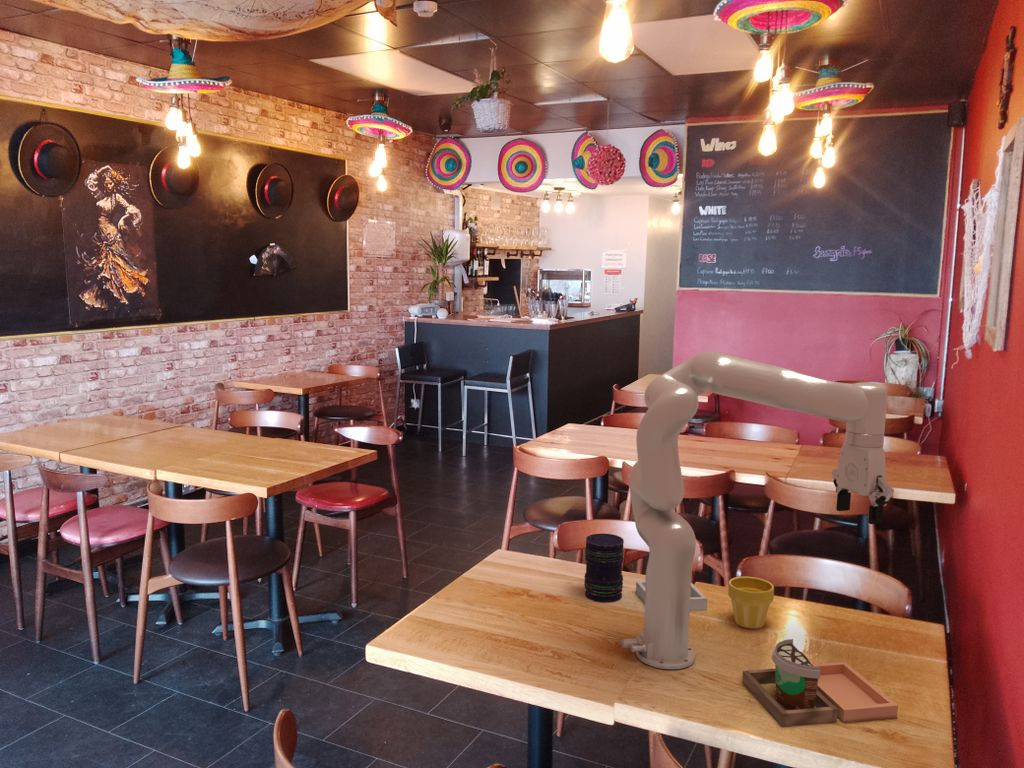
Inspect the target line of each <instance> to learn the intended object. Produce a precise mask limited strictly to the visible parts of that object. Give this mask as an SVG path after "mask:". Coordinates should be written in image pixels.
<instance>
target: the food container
mask: <svg viewBox="0 0 1024 768" xmlns="http://www.w3.org/2000/svg"><path fill="white" fill-rule="evenodd" d="M771 660H772V662H773V664H774V666H775V667H774V668H775V677H776V683H775V698H776V699H775V700H776V702H777V703H778V704H779V705H780V706H781V707H783V708H786V709H787V710H798V709H809V708H816V706H815V701H816V693H817V685H818V678H820V670H819V669H820V667H817V666H813V665H812V664H813V663H812V662H811V661H810V660H809V659H808V657H807V656H806V654H804V653H803V652H801V651H800V650H799V649H798V648H797V647H796V646H795V645H794V638H790V639H789V638H788V639H783V640H781V641H779V642H777V643H776V645H775V647H774V648H773V651H772V654H771Z"/></svg>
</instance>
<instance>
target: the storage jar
mask: <svg viewBox="0 0 1024 768" xmlns="http://www.w3.org/2000/svg"><path fill="white" fill-rule="evenodd" d="M624 541H625V540H624V538H623V537H622V536H619V535H617V534H611V533H593V534H590V535H587V536H586V538H585V548H584V549H585V550H584V553H585V555H584V558H585V562H586V563H585V565H586V566H585V573H584V584H583V585H584V596H585V597H586V599H588V600H590V601H592V602H596V603H601V604H602V603H604V604H605V603H606V604H608V603H615V602H618V601H620V600H622V598H623V593H622V592H623V588H624V581H623V580H624V575H623V563H624V556H625V555H624V553H625V551H624V550H625V549H624V543H625V542H624Z"/></svg>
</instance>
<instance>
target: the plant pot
mask: <svg viewBox="0 0 1024 768" xmlns="http://www.w3.org/2000/svg"><path fill="white" fill-rule="evenodd" d="M727 590H728V592H727V594H728V598H729V599H731V605H732V610H733V611H732V613H733V617H734V621H735V623H736V624H737V626H740V627H742V628H746V629H749V630H751V629H752V630H753V629H754V630H757V629H761V628H763V627H764V626H765V623H766V620H767V619H766V618H767V615H768V611H769V609H770V604H772V603H773V601H774V597H775V596H774V595H775V586H774V585H773V583H771V582H770V581H768V580H766V579H763V578H760V577H754V576H736V577H733V578H731V579H729V581H728V588H727Z"/></svg>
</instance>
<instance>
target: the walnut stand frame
mask: <svg viewBox="0 0 1024 768" xmlns="http://www.w3.org/2000/svg"><path fill="white" fill-rule="evenodd" d="M741 683H742V685H744V687H745V688H746V689H747V690H748V691H749V692H750V693H751V695H753V697H755V699H756V700H757V701H758V702H759V703H760V704H761V705H762V706H763V708H764V709H766V711H767V713H769V714H770V715H771V716H772V718H773V719H774V720H775V721H776V722H777V723H778V724H779V725H780V726H781V728H782V727H783V728H784V727H793V726H795V727H797V726H804V725H805V726H807V725H815V724H816V725H817V724H825V723H827V724H829V723H837V722H838V717H837V714H838V709H837V708H836V707H835V706H834V705H833V704H832V703H831V702H830V701H829V700H828V699H826V698H825V697H824V696H823V695H822V694H821V693H820V692H819V691H818V690H817V693H816V701H815V708H809V709H798V710H789V709H787V710H786V709H784V707H783V706H782V705H781V704H780V703H779V702H778V701H777V699H775V698H774V697H773V696H772V695H771V694H770V693H769V692H768V691H767V690H766V689H765V687H763V685H764V684H773V683H775V684H776V677H775V667H774V668H765V669H751V670H749V669H748V670H742V677H741Z"/></svg>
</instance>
